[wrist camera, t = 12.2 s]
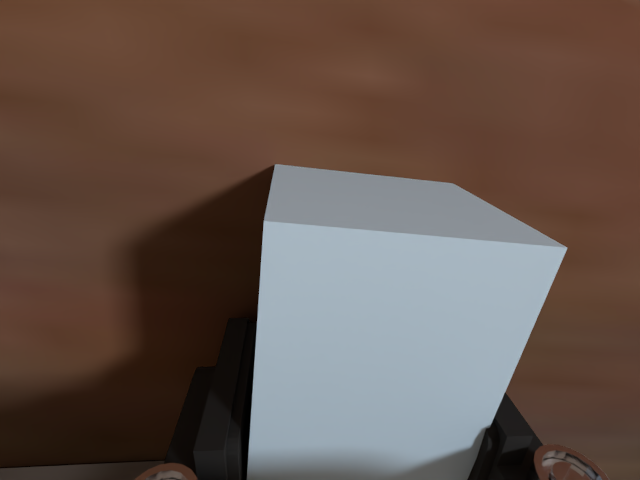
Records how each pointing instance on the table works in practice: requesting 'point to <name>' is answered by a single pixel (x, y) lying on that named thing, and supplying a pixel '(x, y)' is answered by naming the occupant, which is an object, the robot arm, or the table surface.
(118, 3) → the table surface
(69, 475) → the assembly jig
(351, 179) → the light blue rectangular block
